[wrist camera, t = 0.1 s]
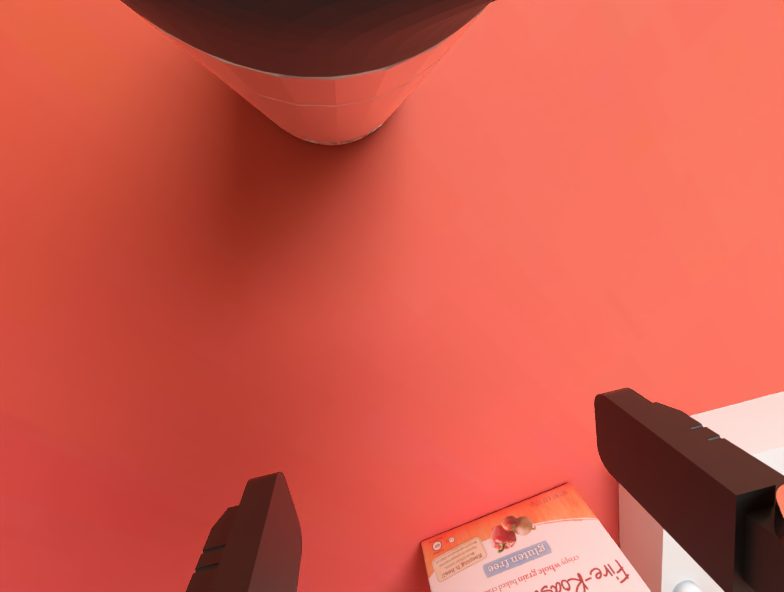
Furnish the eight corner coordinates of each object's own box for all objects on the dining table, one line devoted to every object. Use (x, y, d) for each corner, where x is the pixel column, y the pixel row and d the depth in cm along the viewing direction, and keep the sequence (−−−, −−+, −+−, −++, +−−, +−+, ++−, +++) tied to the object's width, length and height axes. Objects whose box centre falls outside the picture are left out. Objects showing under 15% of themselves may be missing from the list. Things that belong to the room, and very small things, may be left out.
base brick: (617, 434, 33) (676, 489, 27) (812, 383, 34) (908, 425, 28) (619, 555, 37) (670, 623, 32) (791, 506, 38) (870, 563, 33)
